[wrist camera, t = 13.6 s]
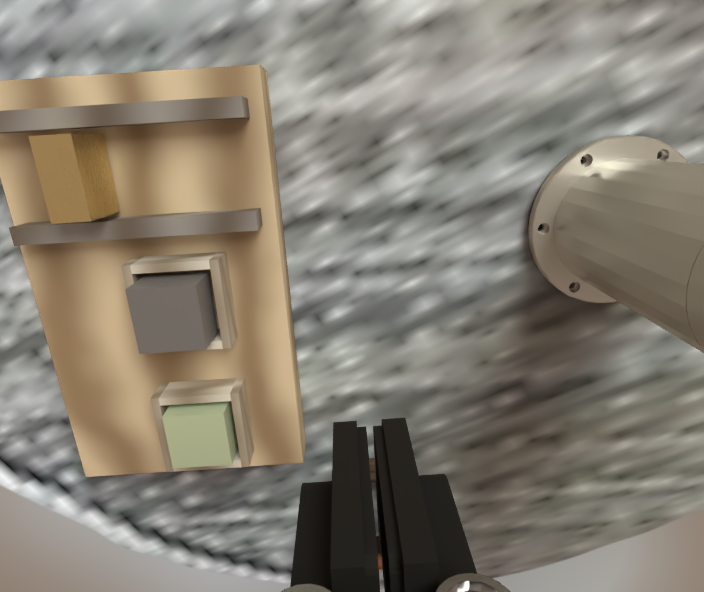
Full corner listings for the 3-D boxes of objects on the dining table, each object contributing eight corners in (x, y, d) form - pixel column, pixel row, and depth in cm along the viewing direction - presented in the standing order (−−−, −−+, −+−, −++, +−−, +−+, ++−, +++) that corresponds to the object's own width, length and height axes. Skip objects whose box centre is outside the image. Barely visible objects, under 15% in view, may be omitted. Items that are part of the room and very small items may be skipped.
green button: (232, 392, 37) (223, 413, 34) (239, 440, 38) (232, 464, 36) (175, 395, 37) (161, 417, 34) (185, 443, 38) (172, 468, 36)
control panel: (266, 70, 33) (253, 59, 28) (305, 440, 43) (300, 482, 37) (4, 86, 33) (-57, 78, 28) (102, 454, 42) (70, 497, 37)
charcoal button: (208, 272, 33) (195, 285, 30) (217, 331, 34) (206, 349, 31) (143, 276, 33) (125, 289, 30) (156, 335, 34) (139, 353, 31)
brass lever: (103, 133, 31) (70, 133, 27) (120, 211, 33) (91, 221, 29) (66, 136, 31) (28, 136, 27) (84, 213, 33) (51, 223, 29)
